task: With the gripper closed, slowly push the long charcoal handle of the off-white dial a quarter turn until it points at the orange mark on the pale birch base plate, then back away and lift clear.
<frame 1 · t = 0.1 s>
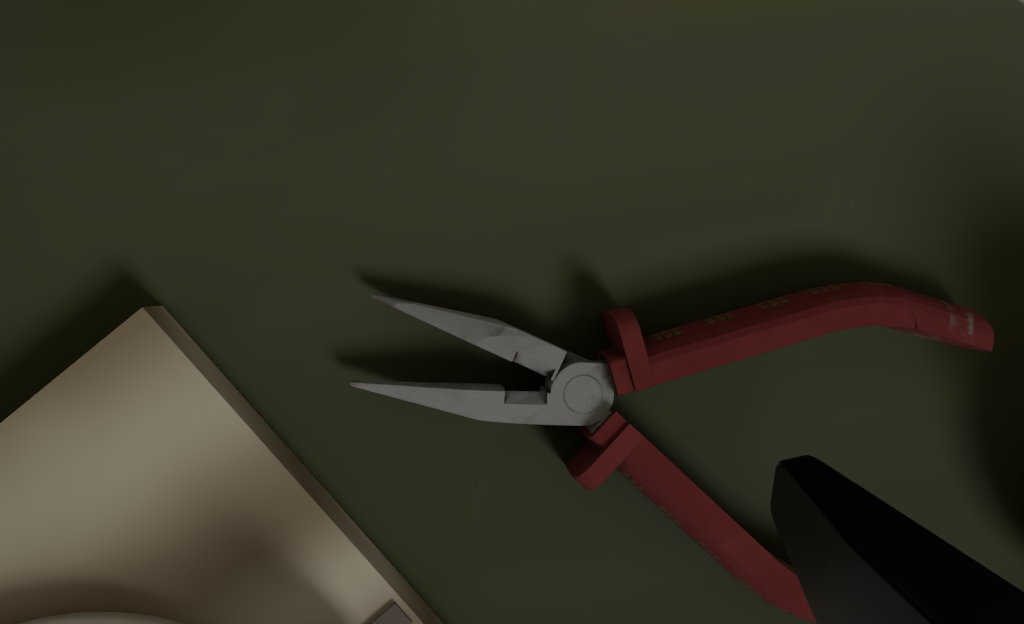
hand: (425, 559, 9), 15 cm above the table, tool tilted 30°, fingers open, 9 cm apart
pliers: (696, 370, 25), on the table
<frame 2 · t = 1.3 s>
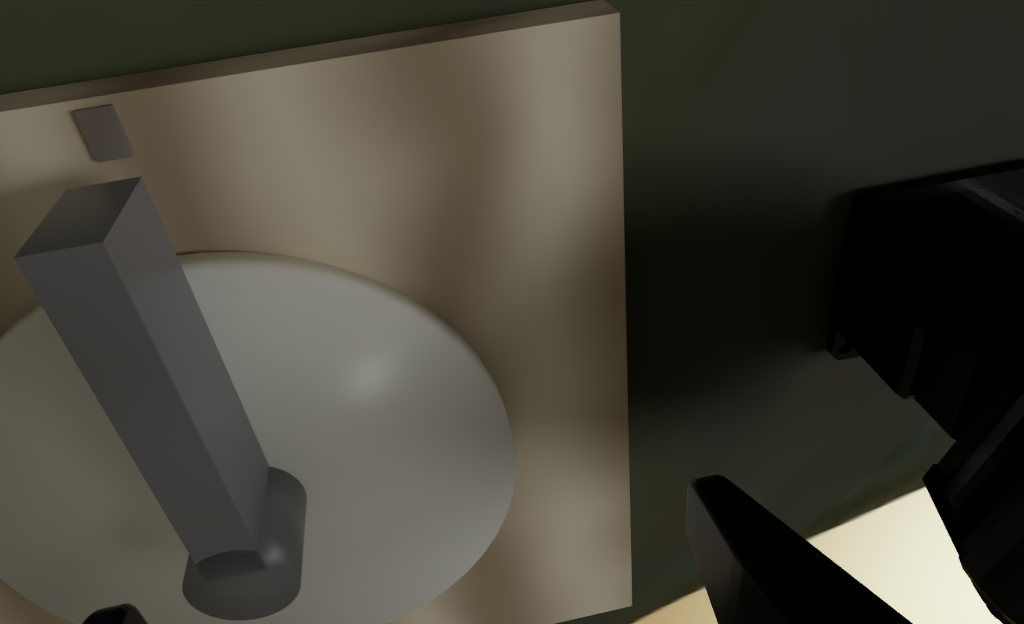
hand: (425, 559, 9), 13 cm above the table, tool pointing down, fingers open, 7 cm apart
dial: (237, 498, 20), point 4 cm above the table, hinge at 0.0°
dial base: (264, 437, 24), on the table
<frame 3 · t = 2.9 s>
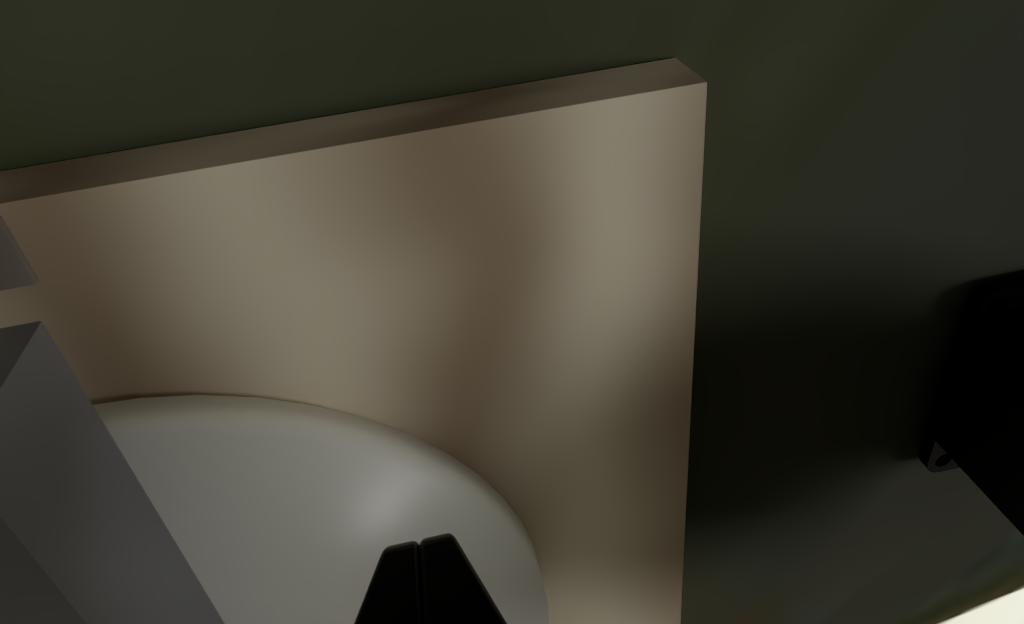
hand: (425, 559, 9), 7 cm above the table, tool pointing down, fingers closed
dial base: (235, 583, 19), on the table
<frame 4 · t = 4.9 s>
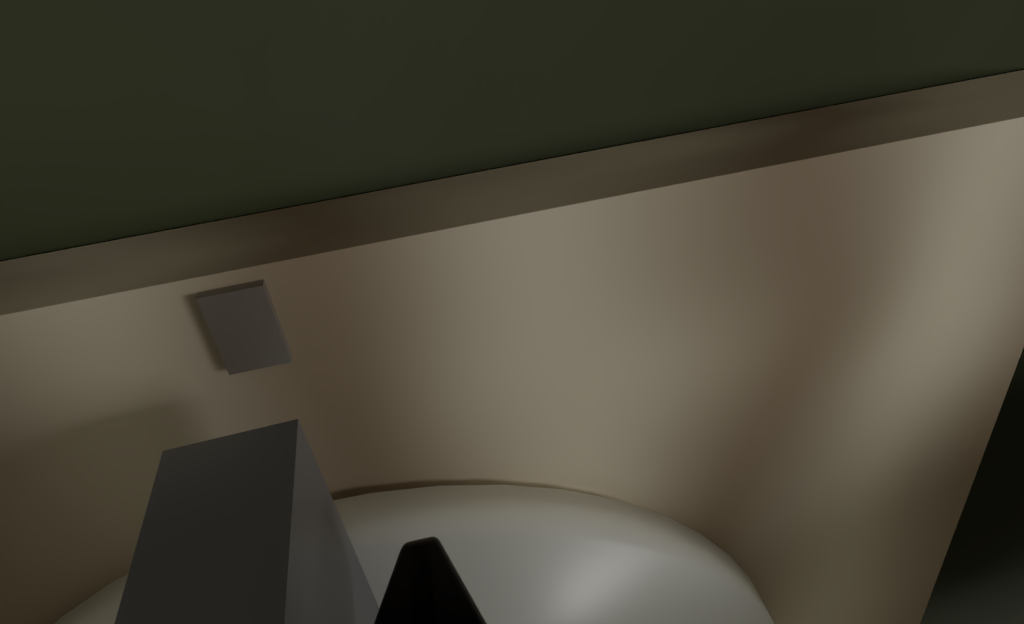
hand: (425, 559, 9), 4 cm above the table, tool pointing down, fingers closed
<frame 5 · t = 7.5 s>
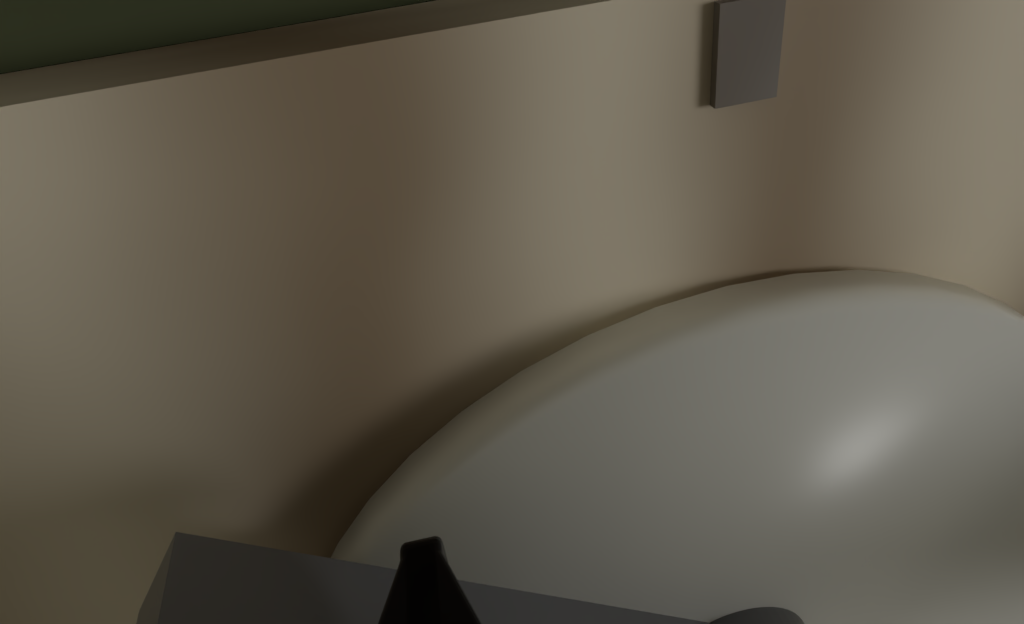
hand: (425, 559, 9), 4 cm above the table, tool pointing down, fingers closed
dial base: (676, 544, 16), on the table
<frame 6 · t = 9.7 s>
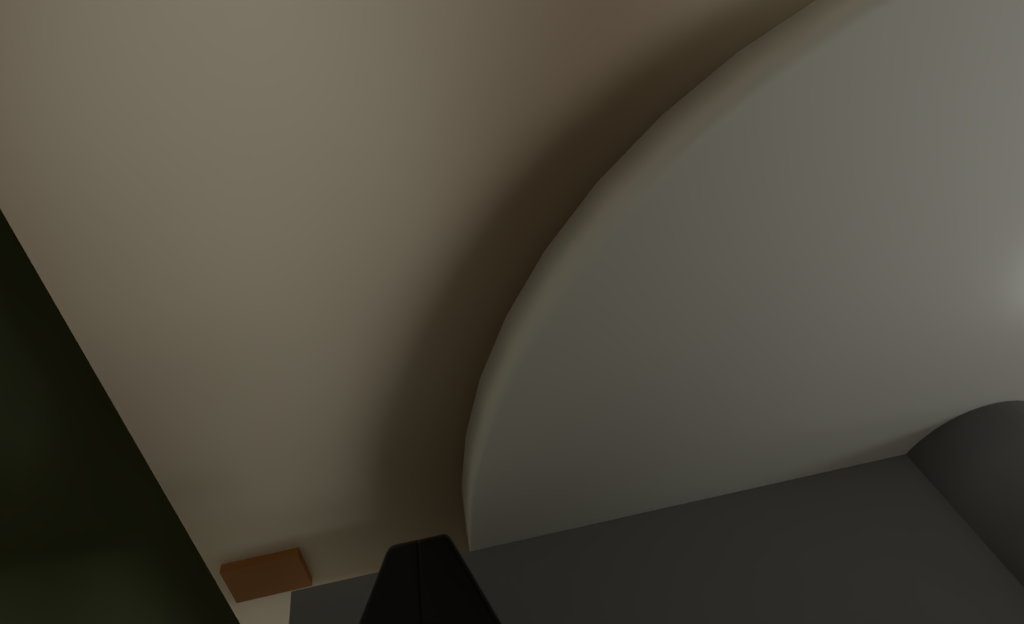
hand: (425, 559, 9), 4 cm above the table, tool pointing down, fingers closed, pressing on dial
dial: (938, 540, 11), point 4 cm above the table, hinge at 89.3°, touching gripper
dial base: (868, 368, 14), on the table
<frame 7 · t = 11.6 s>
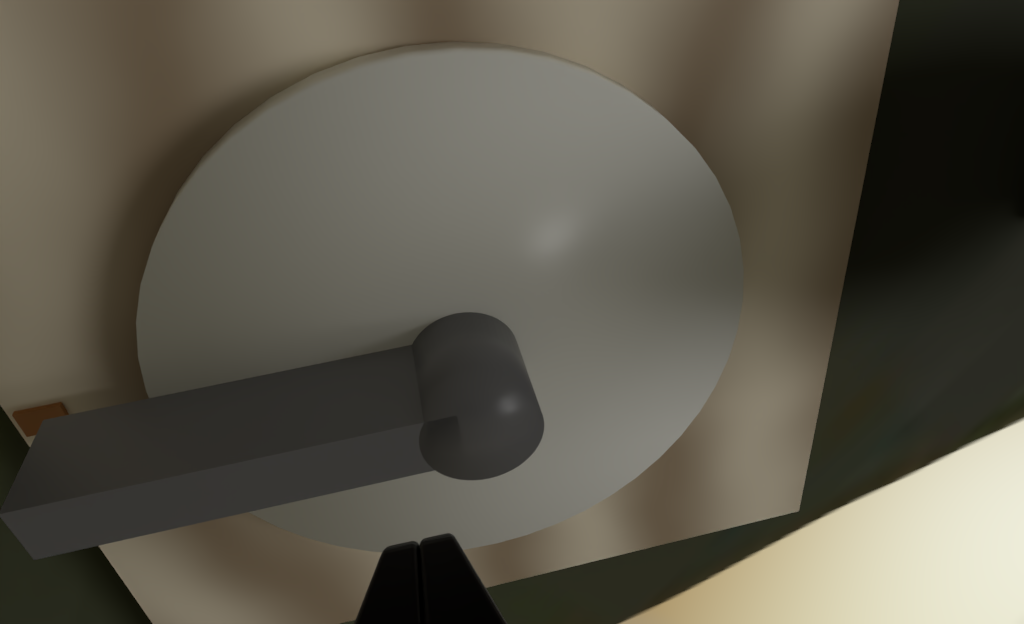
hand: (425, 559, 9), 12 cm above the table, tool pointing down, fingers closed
dial: (421, 391, 19), point 4 cm above the table, hinge at 89.9°
dial base: (450, 303, 22), on the table
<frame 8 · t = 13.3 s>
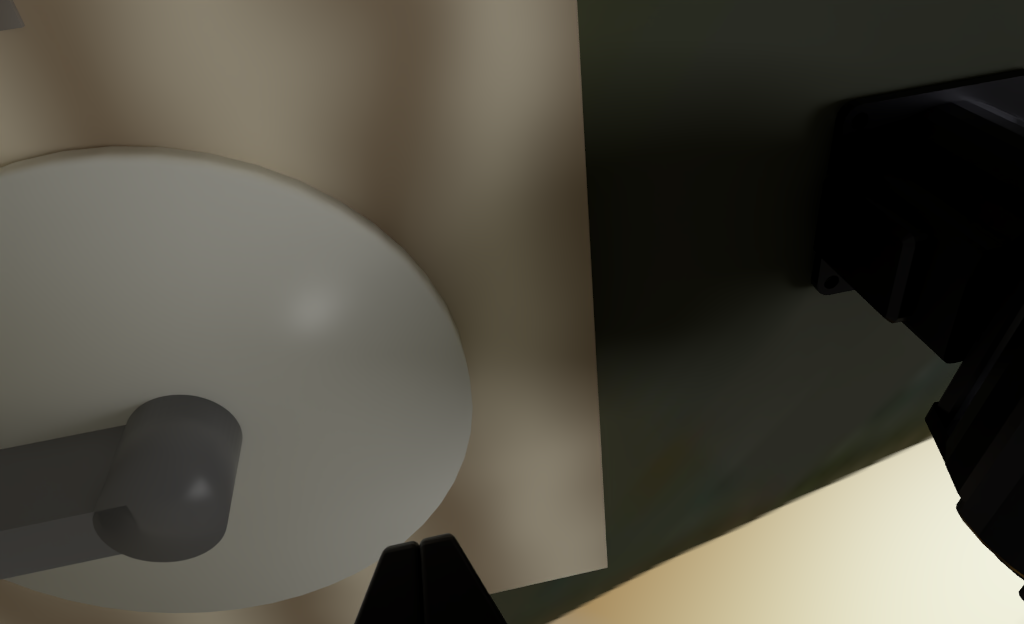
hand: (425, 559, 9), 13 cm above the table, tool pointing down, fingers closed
dial: (129, 472, 19), point 4 cm above the table, hinge at 89.9°
dial base: (201, 374, 22), on the table
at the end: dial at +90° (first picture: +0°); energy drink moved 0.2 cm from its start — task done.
